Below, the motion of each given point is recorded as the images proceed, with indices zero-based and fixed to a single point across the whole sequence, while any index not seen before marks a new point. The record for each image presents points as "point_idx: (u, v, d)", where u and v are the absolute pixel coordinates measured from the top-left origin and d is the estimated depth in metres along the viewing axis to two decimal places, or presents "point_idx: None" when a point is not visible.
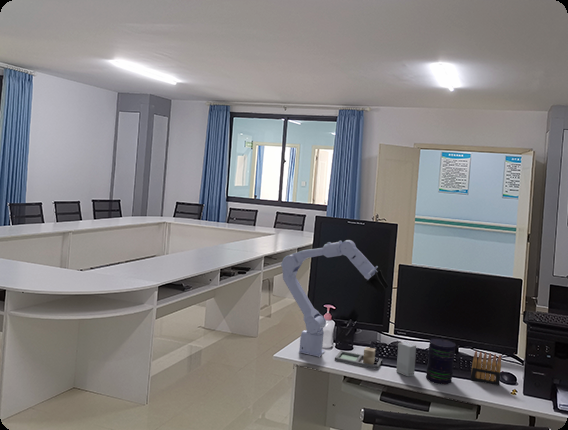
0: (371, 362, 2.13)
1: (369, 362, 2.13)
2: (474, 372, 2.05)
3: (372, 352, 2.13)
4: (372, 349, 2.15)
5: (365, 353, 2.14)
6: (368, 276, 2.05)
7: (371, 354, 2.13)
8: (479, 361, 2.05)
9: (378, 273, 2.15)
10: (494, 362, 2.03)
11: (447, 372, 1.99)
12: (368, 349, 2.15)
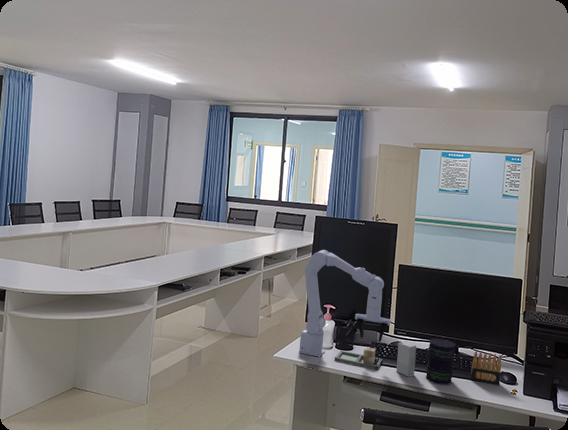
0: (371, 362, 2.13)
1: (369, 362, 2.13)
2: (474, 372, 2.05)
3: (372, 352, 2.13)
4: (372, 349, 2.15)
5: (365, 353, 2.14)
6: (390, 322, 2.12)
7: (371, 354, 2.13)
8: (479, 361, 2.05)
9: (364, 320, 2.17)
10: (494, 362, 2.03)
11: (447, 372, 1.99)
12: (368, 349, 2.15)
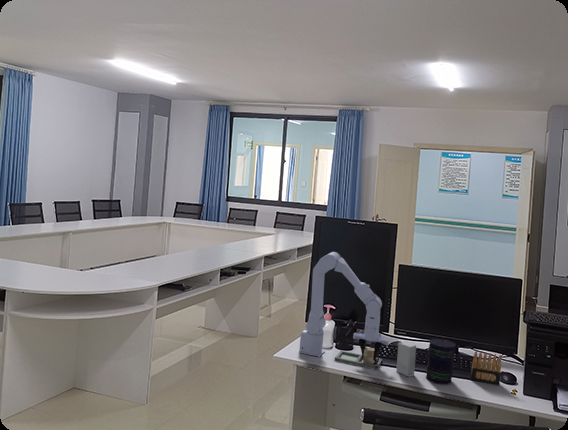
0: (371, 362, 2.13)
1: (369, 362, 2.13)
2: (474, 372, 2.05)
3: (372, 352, 2.13)
4: (372, 349, 2.15)
5: (365, 353, 2.14)
6: (388, 342, 2.12)
7: (371, 354, 2.13)
8: (479, 361, 2.05)
9: None
10: (494, 362, 2.03)
11: (447, 372, 1.99)
12: (368, 349, 2.15)
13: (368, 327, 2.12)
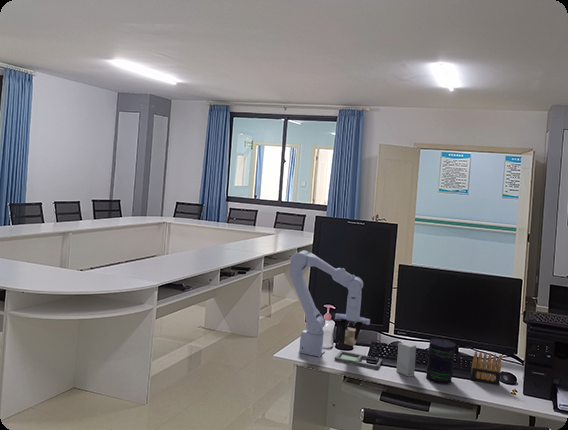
0: (352, 342, 2.16)
1: (350, 342, 2.16)
2: (474, 372, 2.05)
3: (353, 332, 2.15)
4: (353, 329, 2.18)
5: (346, 333, 2.16)
6: (369, 322, 2.15)
7: (352, 334, 2.15)
8: (479, 361, 2.05)
9: (347, 321, 2.19)
10: (494, 362, 2.03)
11: (447, 372, 1.99)
12: (349, 329, 2.17)
13: (349, 307, 2.15)
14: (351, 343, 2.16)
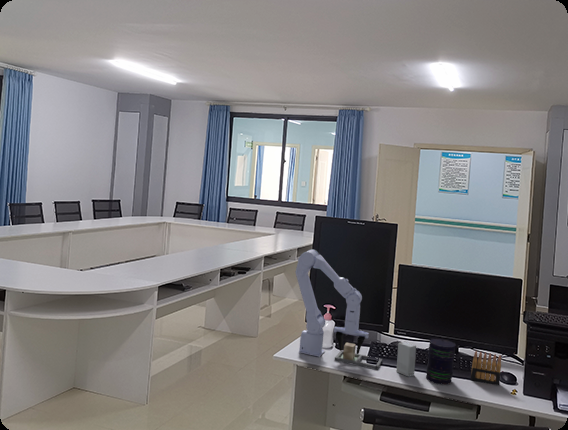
0: (351, 357, 2.16)
1: (349, 357, 2.16)
2: (474, 372, 2.05)
3: (352, 347, 2.16)
4: (352, 344, 2.18)
5: (345, 348, 2.17)
6: (368, 335, 2.15)
7: (351, 349, 2.16)
8: (479, 361, 2.05)
9: (343, 334, 2.20)
10: (494, 362, 2.03)
11: (447, 372, 1.99)
12: (348, 344, 2.18)
13: (348, 320, 2.15)
14: (350, 358, 2.16)
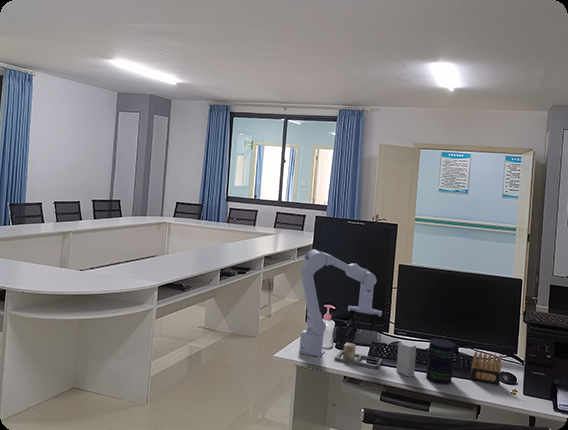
0: (351, 357, 2.16)
1: (349, 357, 2.16)
2: (474, 372, 2.05)
3: (352, 347, 2.16)
4: (352, 344, 2.18)
5: (345, 348, 2.17)
6: (381, 313, 2.24)
7: (351, 349, 2.16)
8: (479, 361, 2.05)
9: (356, 312, 2.29)
10: (494, 362, 2.03)
11: (447, 372, 1.99)
12: (348, 344, 2.18)
13: (362, 299, 2.24)
14: (350, 358, 2.16)
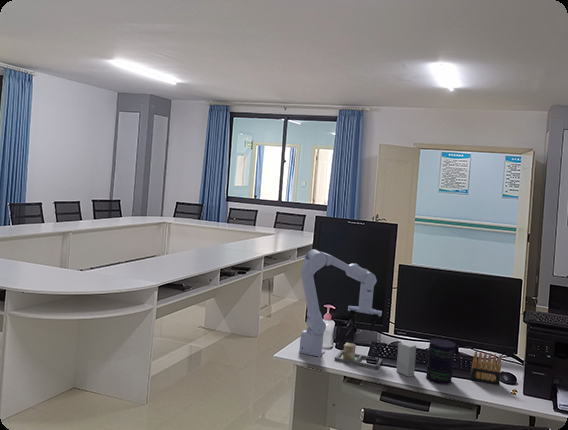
0: (351, 357, 2.16)
1: (349, 357, 2.16)
2: (474, 372, 2.05)
3: (352, 347, 2.16)
4: (352, 344, 2.18)
5: (345, 348, 2.17)
6: (381, 313, 2.24)
7: (351, 349, 2.16)
8: (479, 361, 2.05)
9: (356, 312, 2.29)
10: (494, 362, 2.03)
11: (447, 372, 1.99)
12: (348, 344, 2.18)
13: (362, 299, 2.24)
14: (350, 358, 2.16)
